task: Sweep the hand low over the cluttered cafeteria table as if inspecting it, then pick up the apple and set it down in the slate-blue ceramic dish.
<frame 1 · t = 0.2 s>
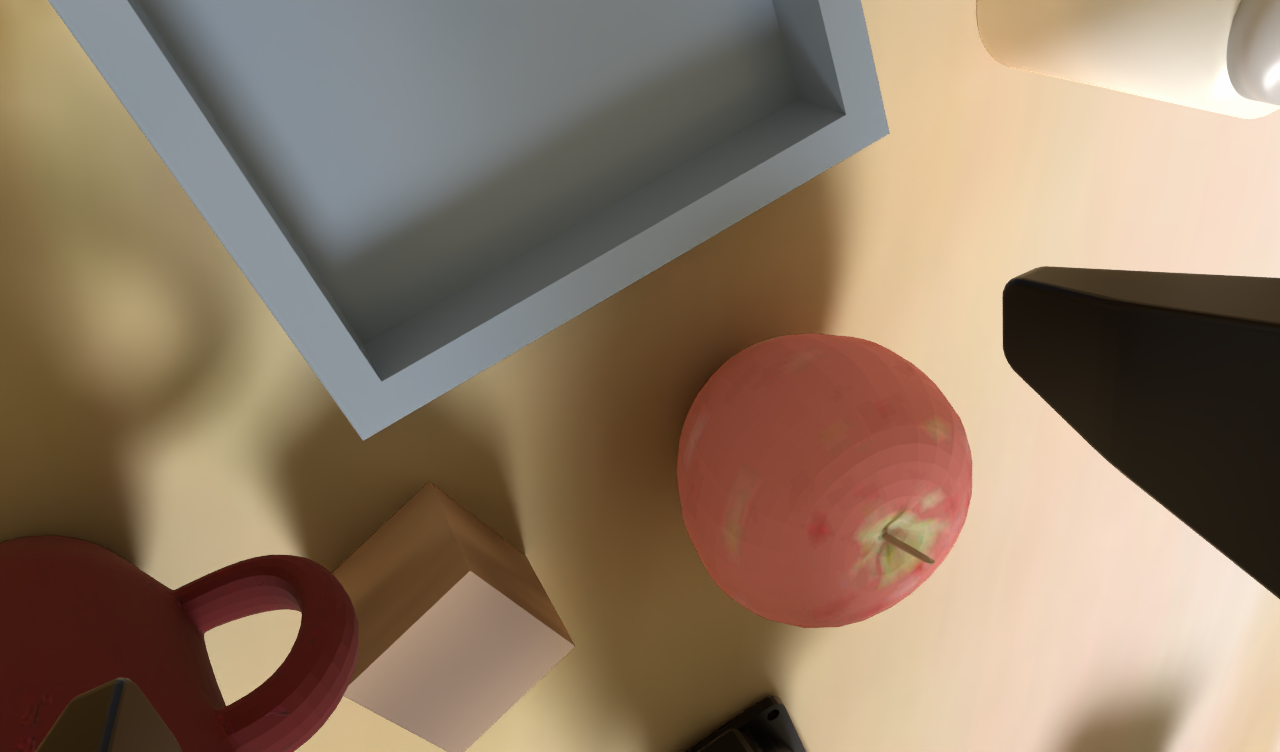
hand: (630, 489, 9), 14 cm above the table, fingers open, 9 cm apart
mug: (93, 571, 22), on the table
apple: (739, 404, 28), on the table
walnut block: (424, 569, 26), on the table
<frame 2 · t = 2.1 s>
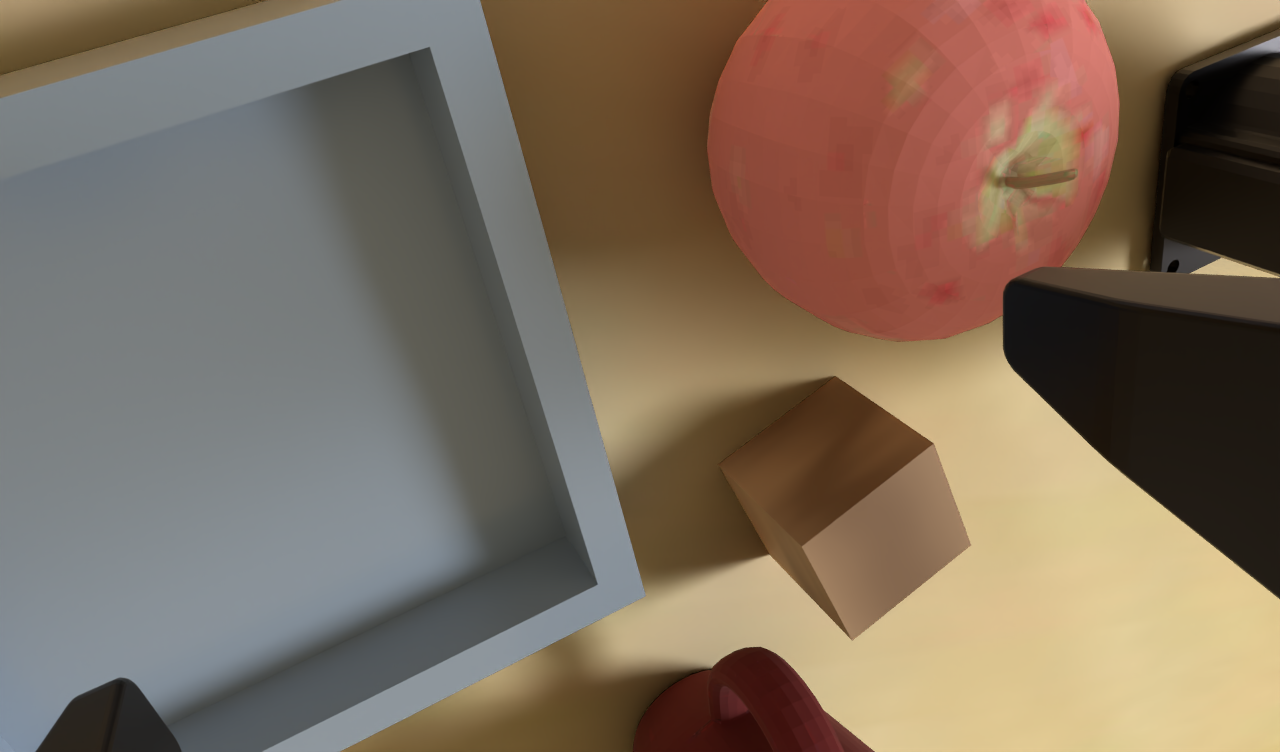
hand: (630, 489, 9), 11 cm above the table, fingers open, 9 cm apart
mug: (680, 690, 28), on the table
dish: (206, 425, 19), on the table
apple: (785, 105, 22), on the table
walnut block: (799, 466, 27), on the table
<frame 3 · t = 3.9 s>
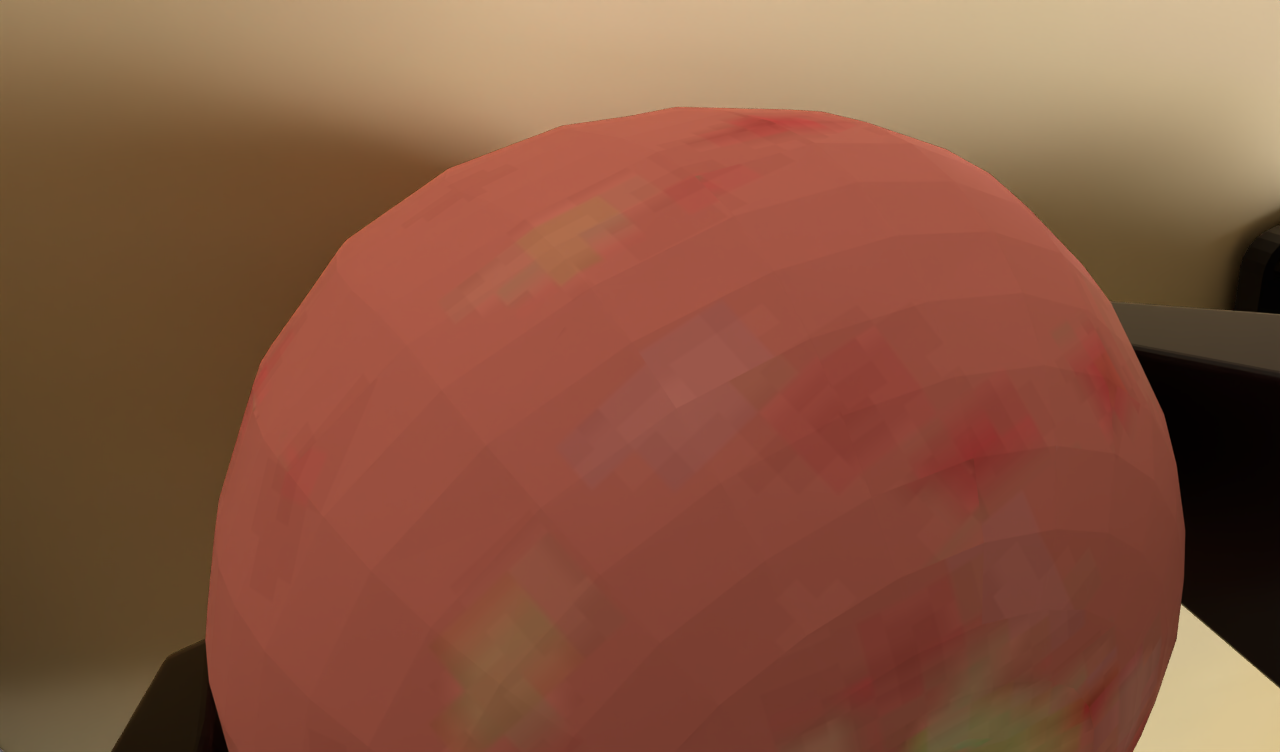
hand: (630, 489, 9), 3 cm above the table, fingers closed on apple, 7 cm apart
apple: (530, 359, 11), on the table, touching gripper
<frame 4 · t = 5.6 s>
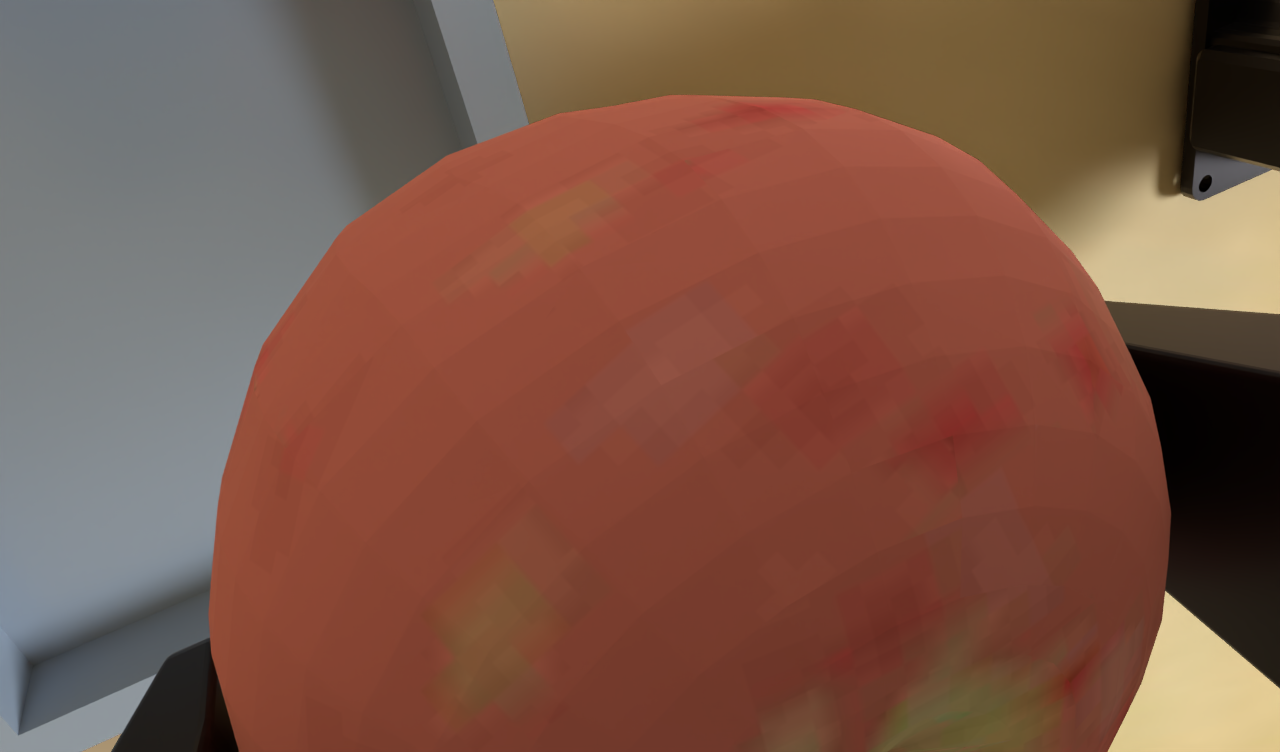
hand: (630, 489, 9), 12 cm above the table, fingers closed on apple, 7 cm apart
dish: (187, 303, 19), on the table
apple: (532, 347, 12), point 9 cm above the table, touching gripper
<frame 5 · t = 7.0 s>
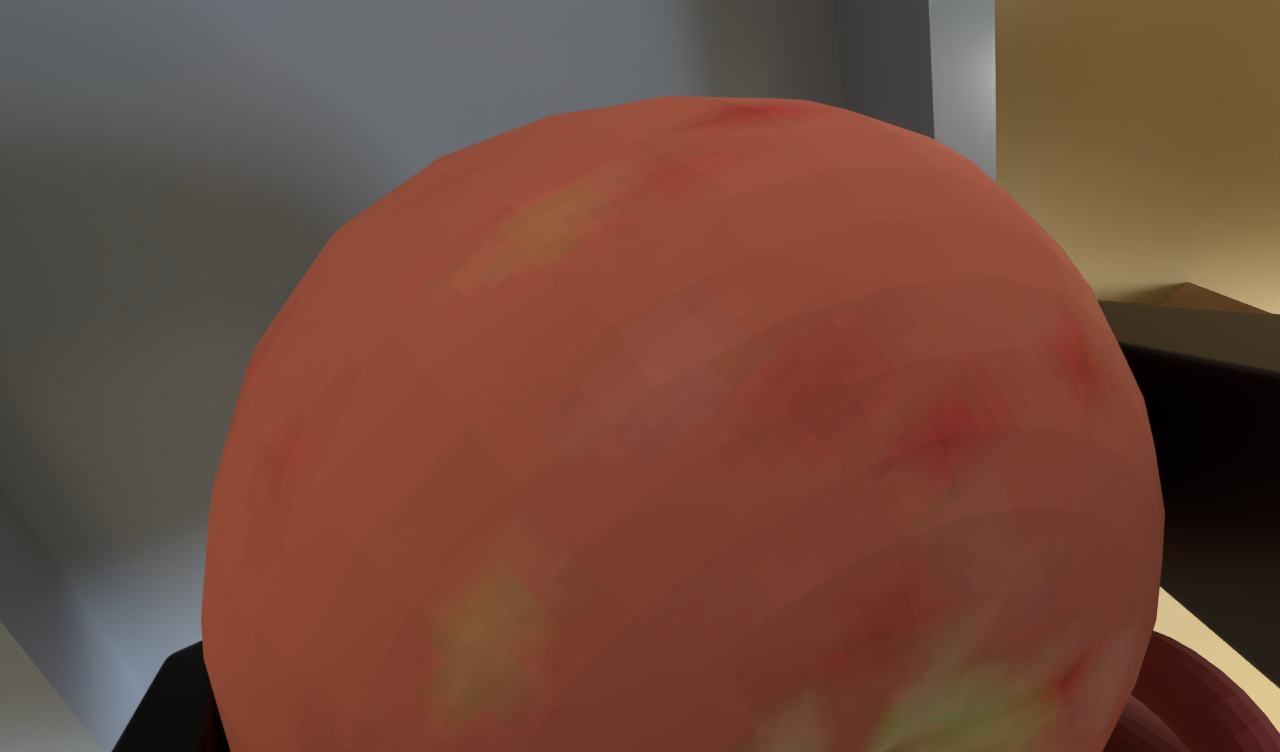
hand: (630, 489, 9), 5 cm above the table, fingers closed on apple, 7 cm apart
mug: (950, 683, 23), on the table
dish: (468, 299, 13), on the table
apple: (526, 349, 12), point 2 cm above the table, touching gripper
walnut block: (1126, 401, 21), on the table
when the fingers open (5 cm above the table, at t = 7.7 s): apple drops 1 cm, resting on dish.
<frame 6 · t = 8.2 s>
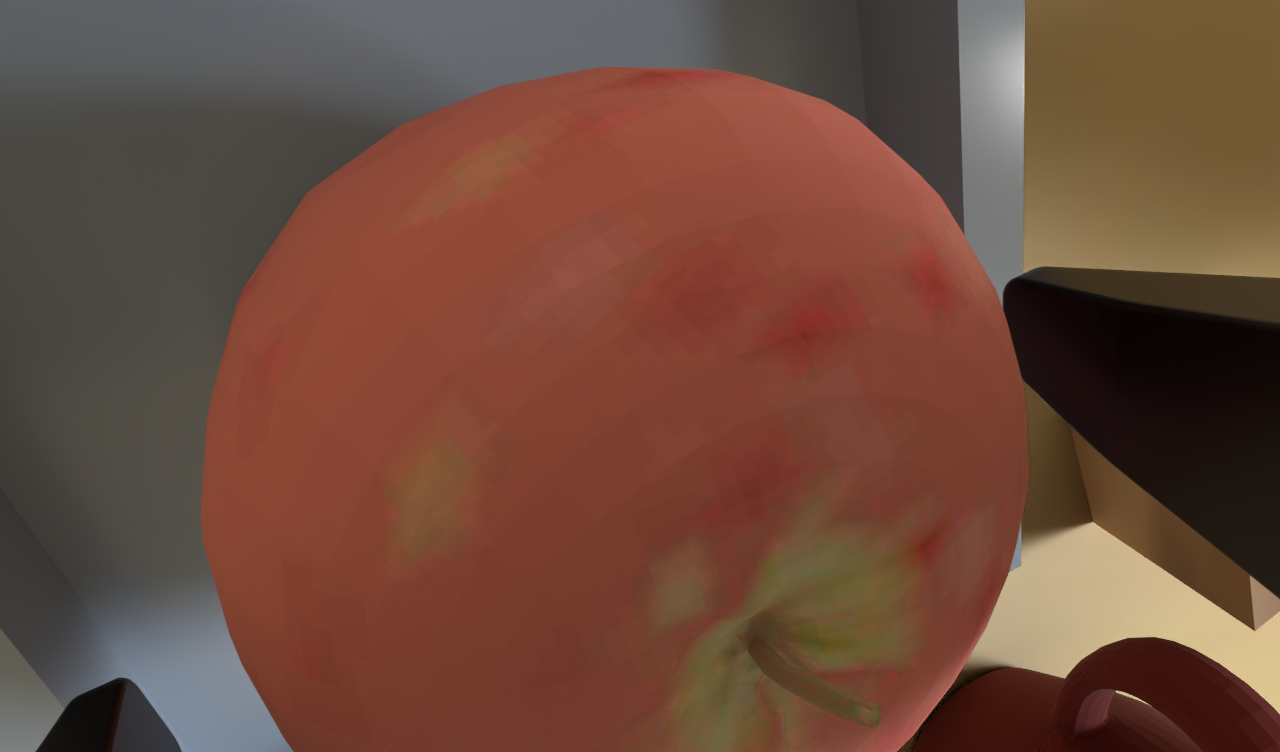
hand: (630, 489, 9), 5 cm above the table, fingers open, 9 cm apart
mug: (965, 693, 23), on the table
dish: (483, 306, 13), on the table
apple: (494, 309, 13), resting on dish
walnut block: (1145, 408, 21), on the table
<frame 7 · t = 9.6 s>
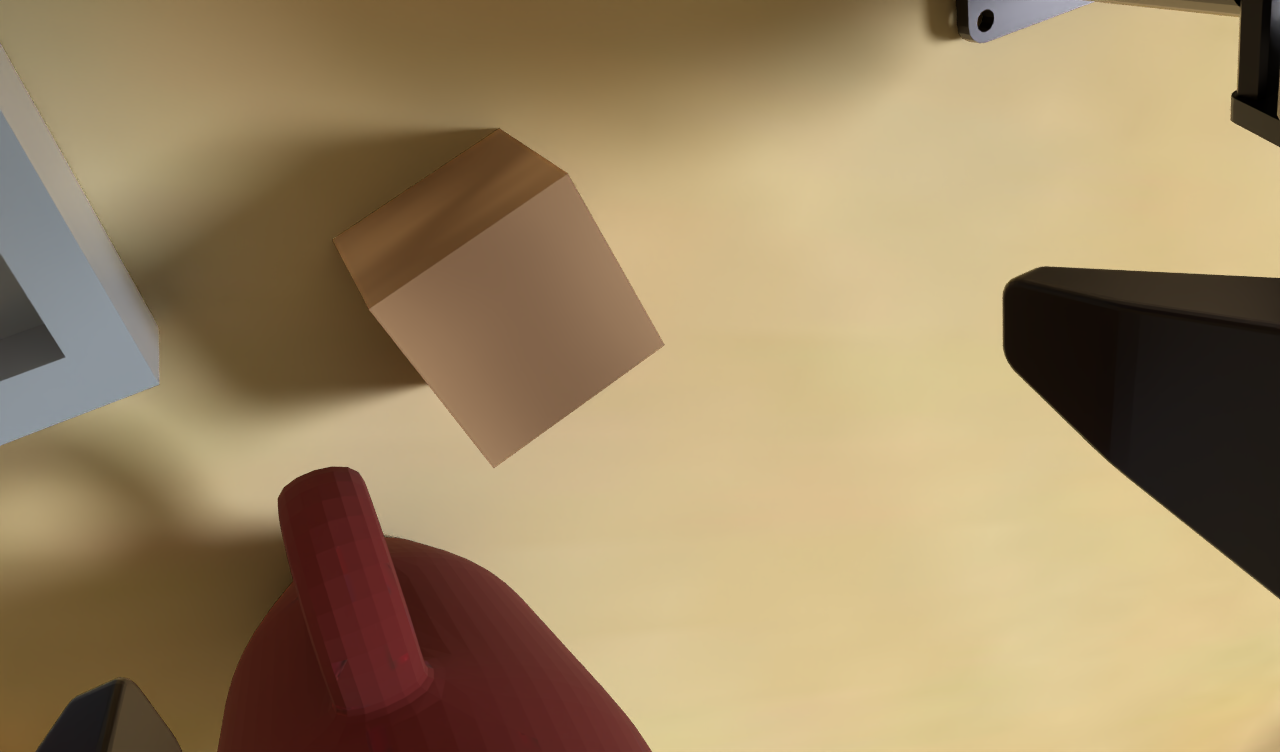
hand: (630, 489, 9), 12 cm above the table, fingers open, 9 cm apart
mug: (345, 564, 22), on the table
walnut block: (468, 259, 20), on the table
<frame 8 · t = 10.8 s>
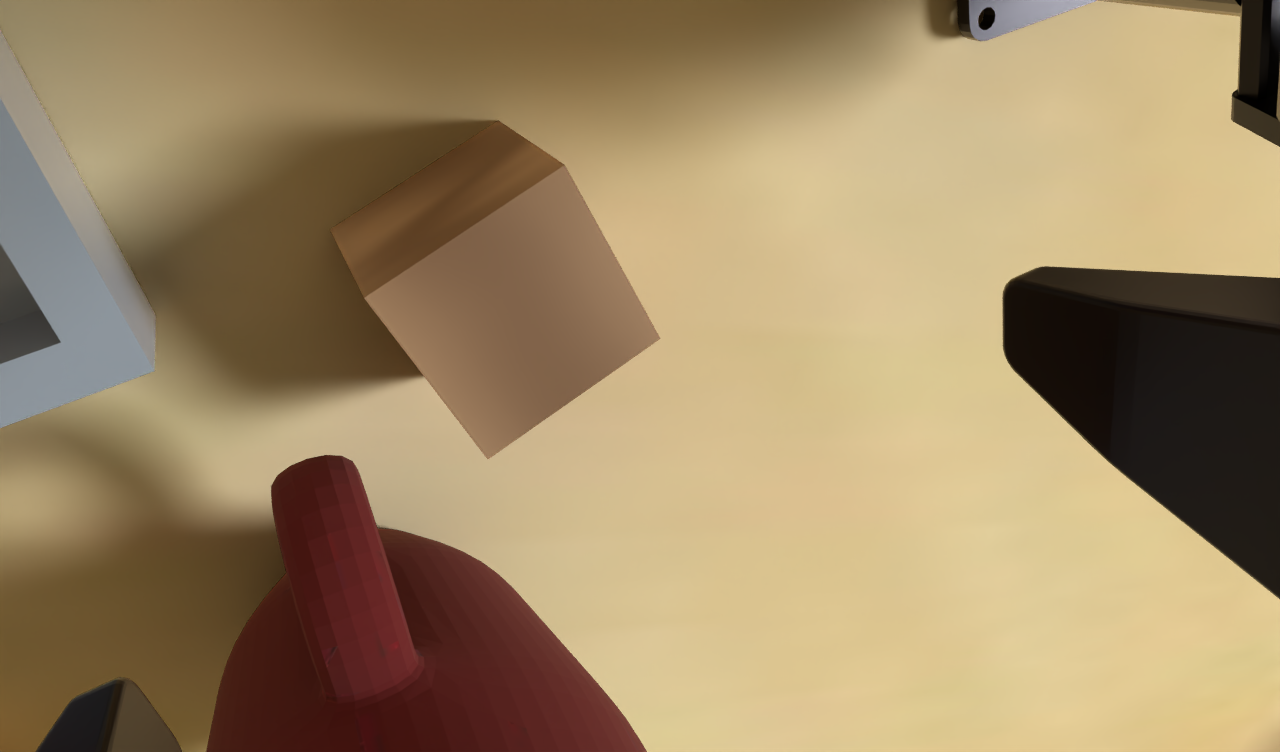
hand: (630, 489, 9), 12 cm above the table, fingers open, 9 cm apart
mug: (340, 555, 22), on the table
walnut block: (465, 251, 20), on the table
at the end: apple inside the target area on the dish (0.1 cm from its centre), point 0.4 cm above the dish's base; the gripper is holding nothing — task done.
